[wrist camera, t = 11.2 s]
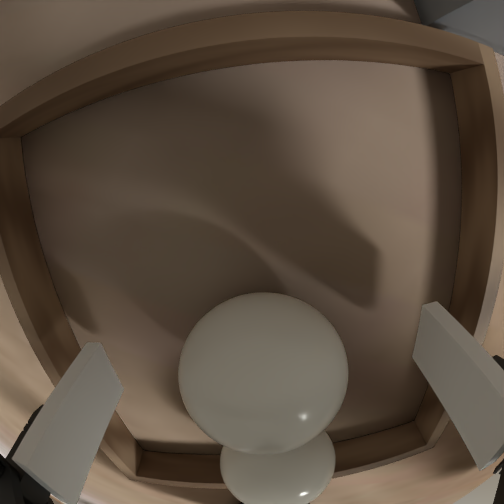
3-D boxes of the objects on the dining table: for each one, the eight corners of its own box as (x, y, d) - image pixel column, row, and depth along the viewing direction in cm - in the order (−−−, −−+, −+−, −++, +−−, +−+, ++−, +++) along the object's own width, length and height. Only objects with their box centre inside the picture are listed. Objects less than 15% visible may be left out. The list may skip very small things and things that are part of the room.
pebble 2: (323, 439, 16) (338, 514, 10) (233, 449, 16) (229, 524, 10) (326, 381, 14) (353, 476, 8) (213, 393, 14) (201, 491, 8)
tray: (422, 424, 16) (433, 447, 14) (137, 455, 17) (129, 479, 14) (460, 58, 8) (492, 48, 6) (7, 125, 9) (-27, 126, 7)
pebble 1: (327, 367, 13) (356, 466, 8) (209, 381, 14) (193, 481, 8) (326, 256, 11) (385, 348, 6) (179, 275, 12) (127, 375, 6)
